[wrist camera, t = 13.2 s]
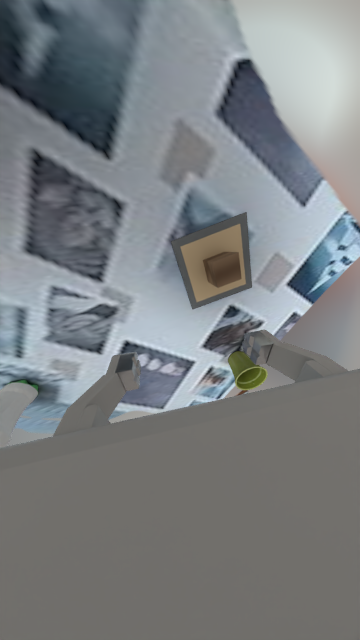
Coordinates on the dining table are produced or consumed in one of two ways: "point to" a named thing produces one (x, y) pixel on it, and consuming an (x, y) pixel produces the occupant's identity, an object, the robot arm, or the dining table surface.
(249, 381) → the plant pot
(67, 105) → the dining table surface
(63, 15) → the dining table surface
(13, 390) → the cup
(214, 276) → the walnut block
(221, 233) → the coaster mat
